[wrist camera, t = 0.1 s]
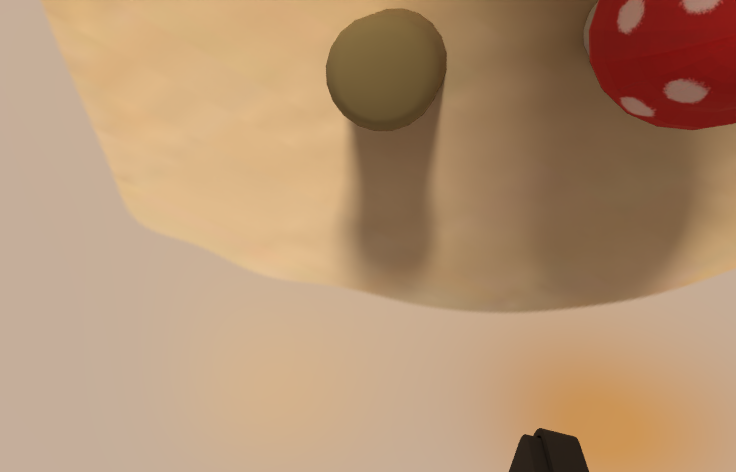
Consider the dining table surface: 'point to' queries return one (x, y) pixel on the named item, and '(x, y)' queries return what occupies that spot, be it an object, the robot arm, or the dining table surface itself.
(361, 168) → the dining table surface
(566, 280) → the dining table surface
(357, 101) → the cork
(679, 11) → the decorative mushroom
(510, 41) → the dining table surface
